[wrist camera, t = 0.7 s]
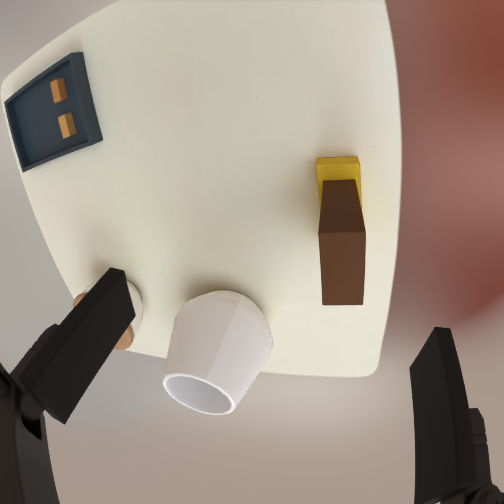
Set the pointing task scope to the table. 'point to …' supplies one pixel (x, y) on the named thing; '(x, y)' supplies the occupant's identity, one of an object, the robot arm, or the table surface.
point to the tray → (52, 114)
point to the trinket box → (135, 324)
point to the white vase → (216, 351)
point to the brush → (341, 231)
